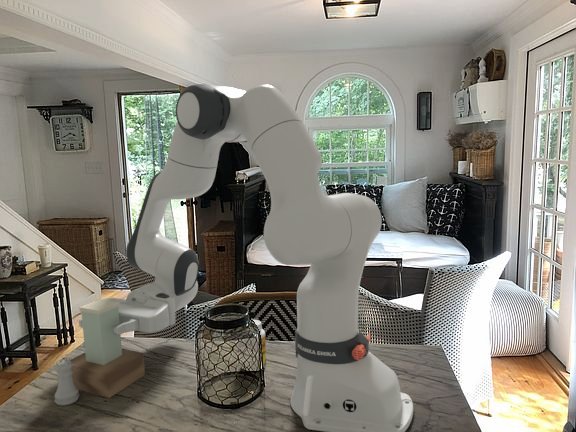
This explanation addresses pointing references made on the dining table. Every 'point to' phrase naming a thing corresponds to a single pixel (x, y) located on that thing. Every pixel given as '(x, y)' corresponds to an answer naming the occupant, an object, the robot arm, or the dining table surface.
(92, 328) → the sage tin
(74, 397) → the rook chess piece
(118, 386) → the walnut block
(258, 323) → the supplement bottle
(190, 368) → the dining table surface
